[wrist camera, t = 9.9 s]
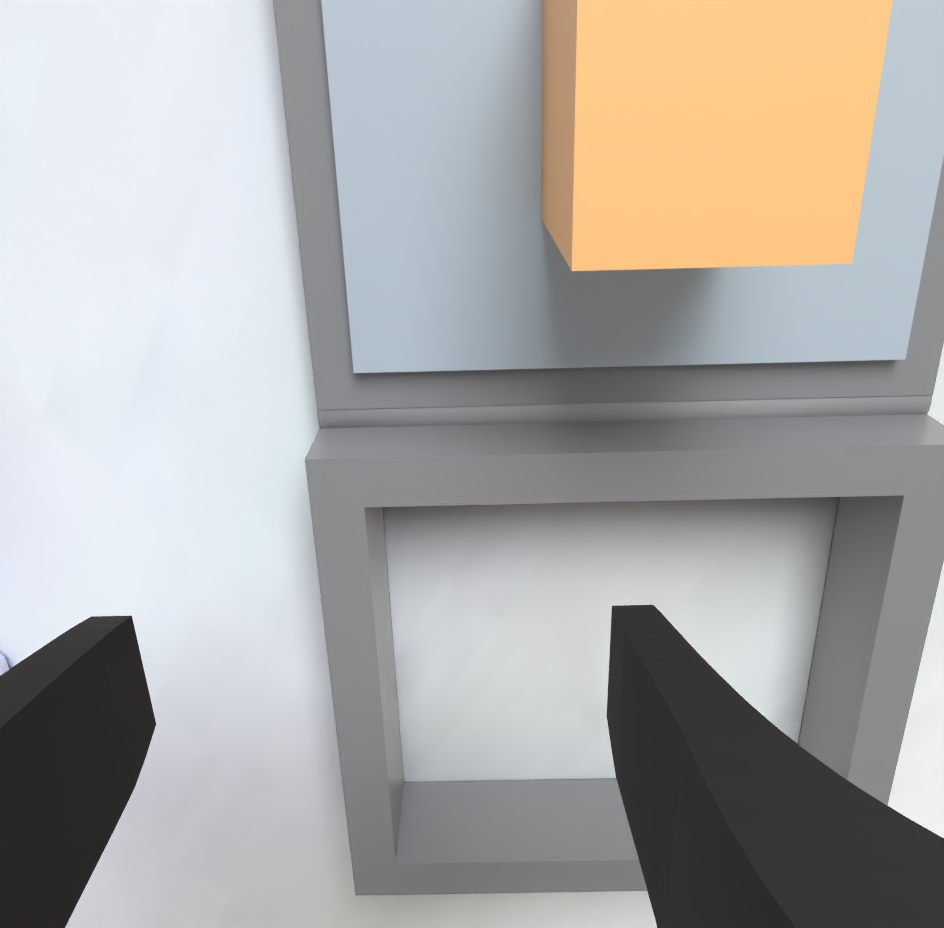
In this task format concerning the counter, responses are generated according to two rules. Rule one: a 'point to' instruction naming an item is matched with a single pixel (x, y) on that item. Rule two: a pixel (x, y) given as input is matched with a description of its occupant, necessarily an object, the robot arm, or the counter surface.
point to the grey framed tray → (590, 399)
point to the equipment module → (707, 130)
